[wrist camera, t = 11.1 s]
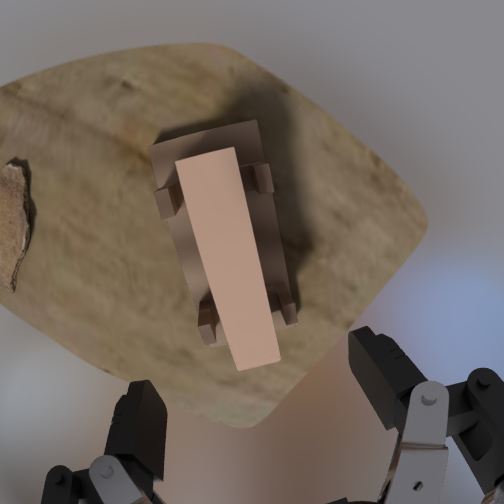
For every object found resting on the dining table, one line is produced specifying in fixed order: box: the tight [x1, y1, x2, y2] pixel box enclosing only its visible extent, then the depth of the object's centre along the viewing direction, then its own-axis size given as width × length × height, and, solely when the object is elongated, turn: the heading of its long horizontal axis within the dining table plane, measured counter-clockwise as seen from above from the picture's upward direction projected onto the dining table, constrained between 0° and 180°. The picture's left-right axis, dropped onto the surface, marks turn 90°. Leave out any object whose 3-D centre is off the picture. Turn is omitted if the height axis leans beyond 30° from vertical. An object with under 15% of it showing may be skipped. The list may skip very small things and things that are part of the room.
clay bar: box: [175, 147, 281, 371], centre depth 21 cm, size 4×16×5 cm, turn 12°
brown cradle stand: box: [148, 119, 298, 348], centre depth 23 cm, size 20×9×6 cm, turn 12°
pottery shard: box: [0, 163, 30, 293], centre depth 22 cm, size 8×3×15 cm
